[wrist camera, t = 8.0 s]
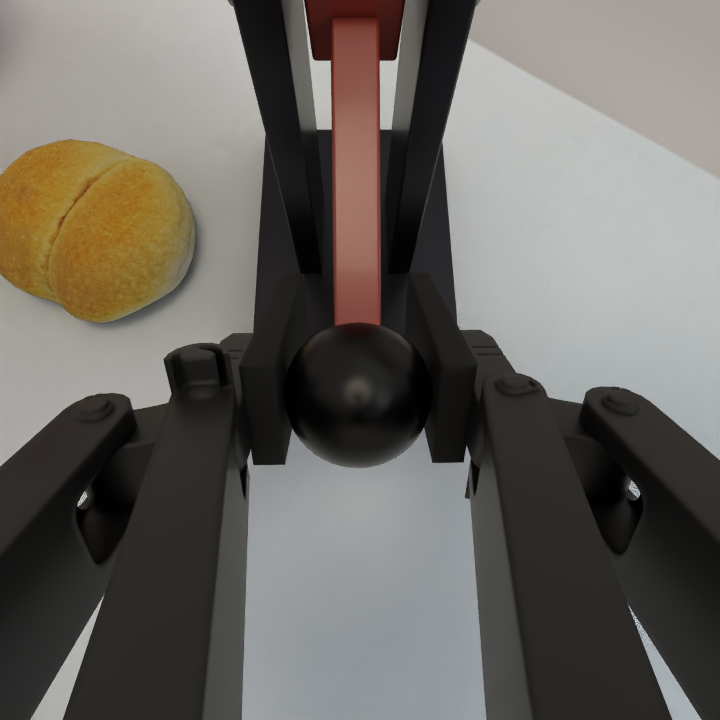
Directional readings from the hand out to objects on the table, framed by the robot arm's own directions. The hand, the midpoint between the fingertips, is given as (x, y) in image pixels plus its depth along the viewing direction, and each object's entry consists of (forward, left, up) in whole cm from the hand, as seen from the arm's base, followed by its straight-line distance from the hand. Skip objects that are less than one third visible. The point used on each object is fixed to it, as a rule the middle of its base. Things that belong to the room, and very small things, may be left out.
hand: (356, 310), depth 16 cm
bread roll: (+13, -3, -5) cm, 14 cm away
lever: (0, -1, +4) cm, 4 cm away
